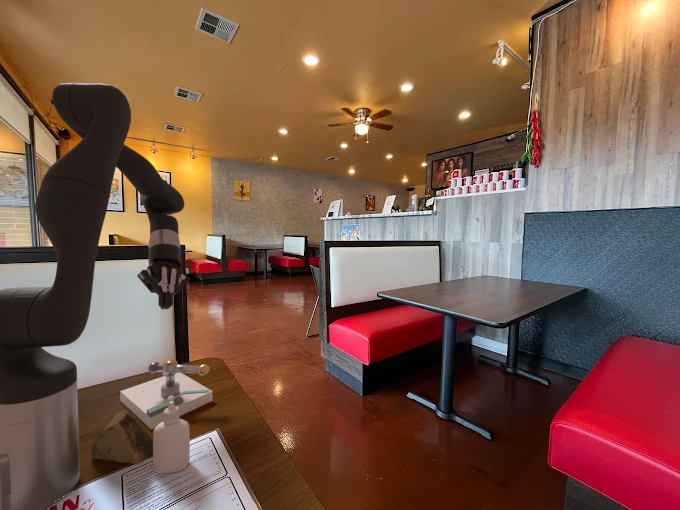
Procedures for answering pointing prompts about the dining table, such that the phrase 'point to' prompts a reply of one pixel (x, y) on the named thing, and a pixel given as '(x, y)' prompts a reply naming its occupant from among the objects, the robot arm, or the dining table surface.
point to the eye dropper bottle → (171, 442)
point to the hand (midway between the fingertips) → (166, 308)
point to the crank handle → (176, 370)
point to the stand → (164, 398)
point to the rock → (123, 441)
